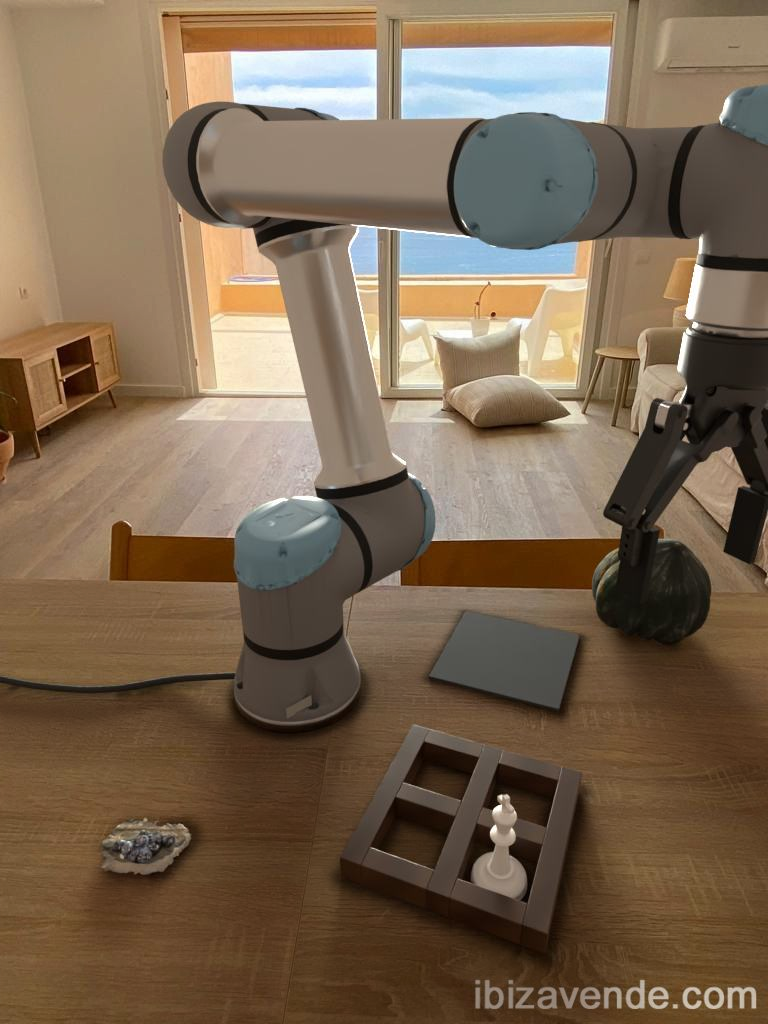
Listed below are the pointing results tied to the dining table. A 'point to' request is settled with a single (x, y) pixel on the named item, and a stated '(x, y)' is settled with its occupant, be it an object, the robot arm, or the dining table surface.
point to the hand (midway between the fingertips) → (687, 575)
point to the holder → (467, 836)
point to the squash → (657, 596)
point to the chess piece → (501, 857)
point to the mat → (508, 660)
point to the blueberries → (143, 846)
